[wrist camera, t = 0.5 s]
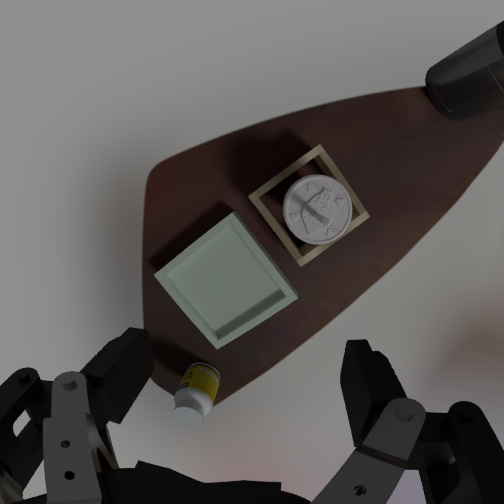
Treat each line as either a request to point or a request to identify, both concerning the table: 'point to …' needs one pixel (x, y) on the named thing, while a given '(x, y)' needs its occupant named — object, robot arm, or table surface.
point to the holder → (299, 254)
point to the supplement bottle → (196, 394)
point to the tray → (226, 282)
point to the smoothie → (317, 209)
